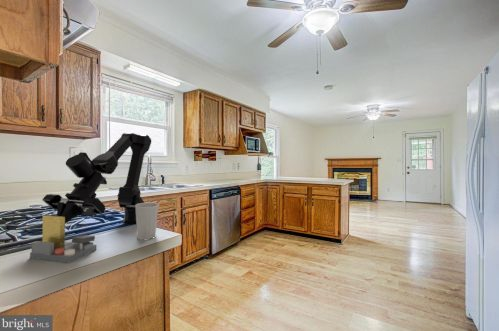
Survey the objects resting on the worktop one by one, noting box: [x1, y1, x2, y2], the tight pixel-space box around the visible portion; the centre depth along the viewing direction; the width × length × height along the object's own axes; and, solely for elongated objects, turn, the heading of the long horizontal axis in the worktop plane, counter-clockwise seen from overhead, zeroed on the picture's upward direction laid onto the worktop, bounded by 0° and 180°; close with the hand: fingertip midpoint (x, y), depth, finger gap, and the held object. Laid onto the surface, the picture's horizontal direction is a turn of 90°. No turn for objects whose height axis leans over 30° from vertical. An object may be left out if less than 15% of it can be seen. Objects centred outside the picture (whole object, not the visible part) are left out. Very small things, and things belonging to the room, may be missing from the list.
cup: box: [135, 202, 160, 241], centre depth 90 cm, size 8×8×12 cm
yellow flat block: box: [42, 214, 66, 250], centre depth 72 cm, size 2×6×10 cm, turn 81°
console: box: [29, 240, 97, 264], centre depth 73 cm, size 10×12×5 cm
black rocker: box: [71, 234, 96, 243], centre depth 75 cm, size 5×3×1 cm, turn 171°
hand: (57, 227), depth 73 cm, fingers closed, pressing on yellow flat block
